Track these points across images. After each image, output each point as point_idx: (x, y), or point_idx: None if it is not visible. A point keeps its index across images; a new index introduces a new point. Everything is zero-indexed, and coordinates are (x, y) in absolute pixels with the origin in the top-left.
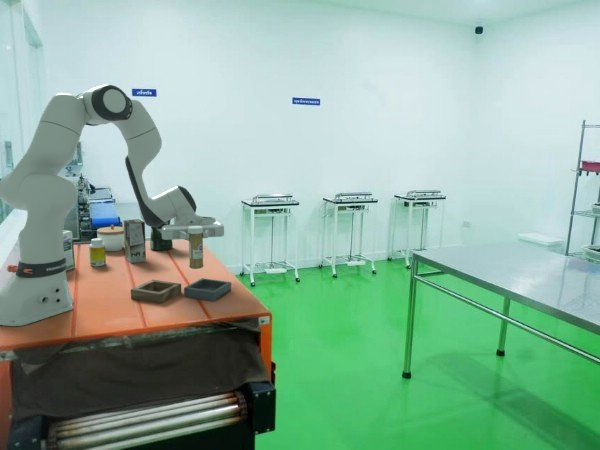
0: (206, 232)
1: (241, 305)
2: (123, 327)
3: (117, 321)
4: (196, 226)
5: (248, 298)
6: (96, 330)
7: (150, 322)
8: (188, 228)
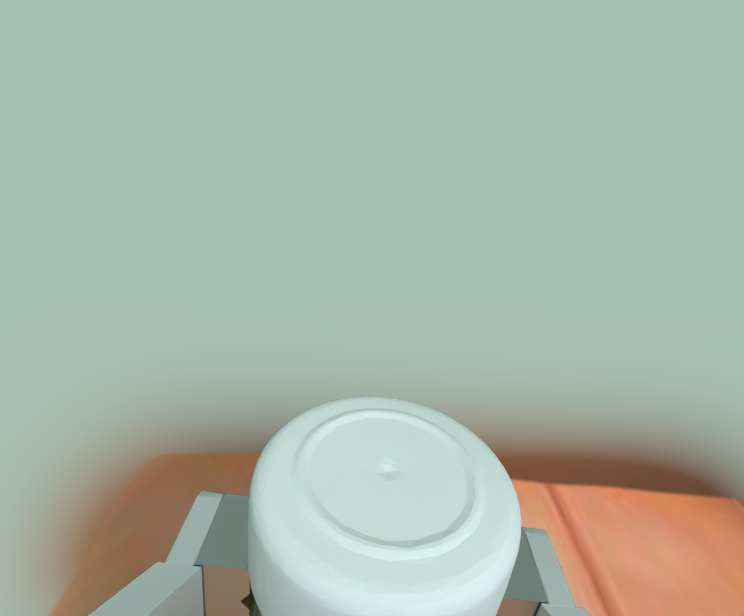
0: (200, 513)
1: (179, 527)
2: (618, 501)
3: (668, 556)
4: (366, 499)
5: (75, 603)
6: (696, 510)
7: (542, 505)
8: (513, 498)
